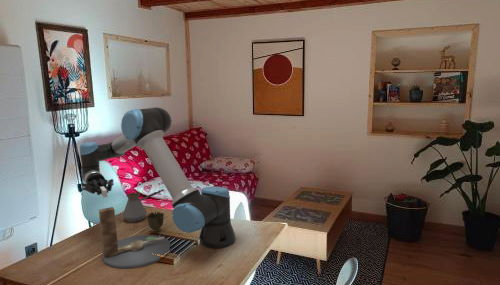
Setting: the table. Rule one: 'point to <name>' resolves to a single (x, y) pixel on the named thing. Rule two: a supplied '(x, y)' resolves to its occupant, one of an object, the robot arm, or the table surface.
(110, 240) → the brown bar with rod
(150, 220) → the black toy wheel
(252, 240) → the table surface
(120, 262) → the dial plate
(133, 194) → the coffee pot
